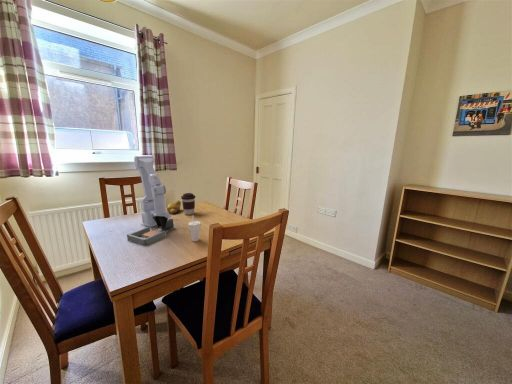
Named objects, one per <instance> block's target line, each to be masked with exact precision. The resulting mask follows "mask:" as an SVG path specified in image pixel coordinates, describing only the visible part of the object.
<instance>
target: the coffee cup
mask: <svg viewBox="0 0 512 384" xmlns="http://www.w3.org/2000/svg"><path fill="white" fill-rule="evenodd" d="M195 198H196V195H195V194H193V192H192V193H191V192H187V193H183V195H181V196H180V199H181V200H182V201H181V204H182V208H183V213H184V215H186V216H188V215H189V216H190V215H194V214H195V207H196V205H195V204H196V199H195Z"/></svg>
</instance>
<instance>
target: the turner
mask: <svg viewBox="0 0 512 384" xmlns="http://www.w3.org/2000/svg"><path fill="white" fill-rule="evenodd" d="M171 229H174V219H173V218H168V220H167V222H166V227H165V228H164V229H162V228H161V227H160V228H158V227H157V228H156V229H154V230H155V231H158V232H162V231H165V233H166V234H167V233H169V232H168V231H169V230H171Z"/></svg>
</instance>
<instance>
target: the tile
mask: <svg viewBox="0 0 512 384" xmlns="http://www.w3.org/2000/svg"><path fill="white" fill-rule="evenodd" d="M158 233H160V232H158V231H155V229H154V230H153V229H151V230H150V231H149V232H147V233H145V234H142V235H141V238H144V239H146V238H148V237H151V236H153V235H155V234H158Z"/></svg>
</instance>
